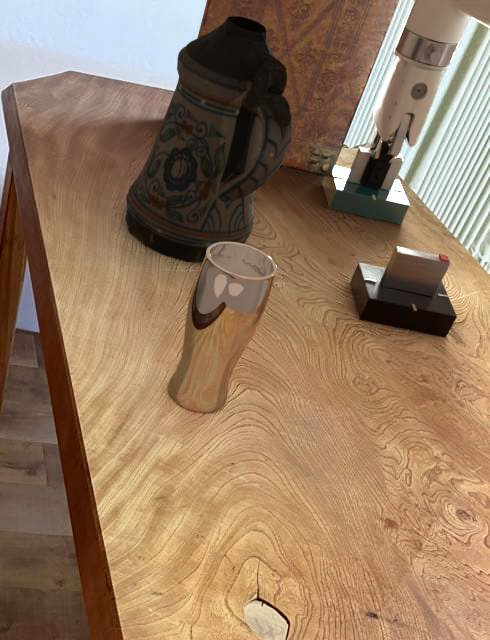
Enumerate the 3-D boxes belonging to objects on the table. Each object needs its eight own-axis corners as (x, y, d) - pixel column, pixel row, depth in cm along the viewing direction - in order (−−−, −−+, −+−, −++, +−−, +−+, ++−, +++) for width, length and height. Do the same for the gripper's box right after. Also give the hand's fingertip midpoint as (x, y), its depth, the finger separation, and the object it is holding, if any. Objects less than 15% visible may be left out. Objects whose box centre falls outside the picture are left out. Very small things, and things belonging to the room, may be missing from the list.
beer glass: (229, 382, 93) (277, 249, 83) (230, 422, 88) (281, 286, 78) (164, 368, 93) (204, 233, 82) (161, 407, 88) (204, 269, 77)
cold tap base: (329, 211, 129) (338, 190, 127) (321, 181, 137) (329, 160, 135) (402, 227, 130) (411, 206, 128) (389, 196, 138) (398, 176, 136)
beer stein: (162, 191, 124) (213, -12, 106) (285, 249, 118) (360, 44, 100) (97, 224, 113) (142, 4, 95) (229, 290, 107) (302, 69, 90)
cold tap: (348, 181, 131) (361, 149, 127) (347, 177, 132) (359, 145, 129) (391, 190, 131) (404, 158, 128) (389, 186, 132) (402, 154, 129)
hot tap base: (360, 323, 107) (370, 300, 105) (348, 280, 115) (358, 257, 113) (447, 341, 108) (459, 319, 106) (429, 297, 116) (440, 275, 114)
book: (172, 138, 138) (229, -92, 117) (176, 118, 145) (231, -104, 124) (331, 177, 139) (416, -45, 118) (328, 155, 145) (408, -59, 124)
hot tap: (382, 286, 109) (399, 250, 105) (380, 279, 110) (396, 244, 106) (433, 297, 109) (451, 261, 106) (430, 290, 110) (448, 255, 107)
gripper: (465, 74, 113) (402, 211, 126) (439, 37, 124) (383, 167, 137) (409, 61, 113) (351, 200, 126) (388, 25, 124) (337, 156, 137)
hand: (368, 182), depth 131 cm, fingers closed, pressing on cold tap
